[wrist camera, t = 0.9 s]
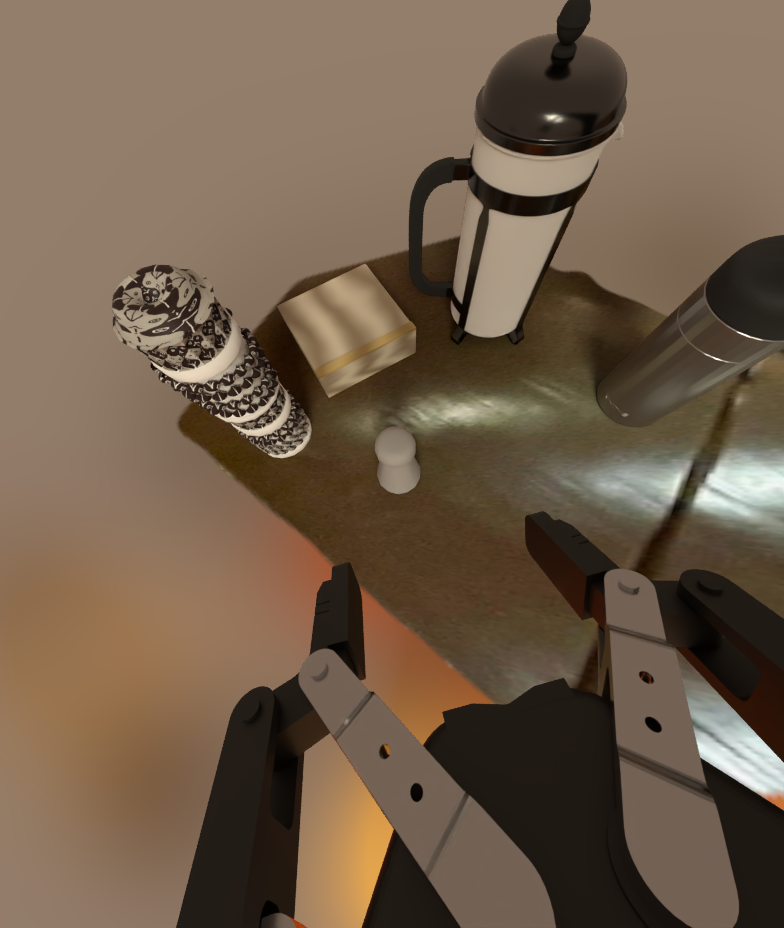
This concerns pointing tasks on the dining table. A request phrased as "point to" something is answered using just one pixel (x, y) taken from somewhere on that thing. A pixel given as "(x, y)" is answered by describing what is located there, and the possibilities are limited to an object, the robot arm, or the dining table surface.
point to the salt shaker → (397, 460)
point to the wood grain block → (349, 329)
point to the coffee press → (524, 172)
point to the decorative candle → (208, 356)
